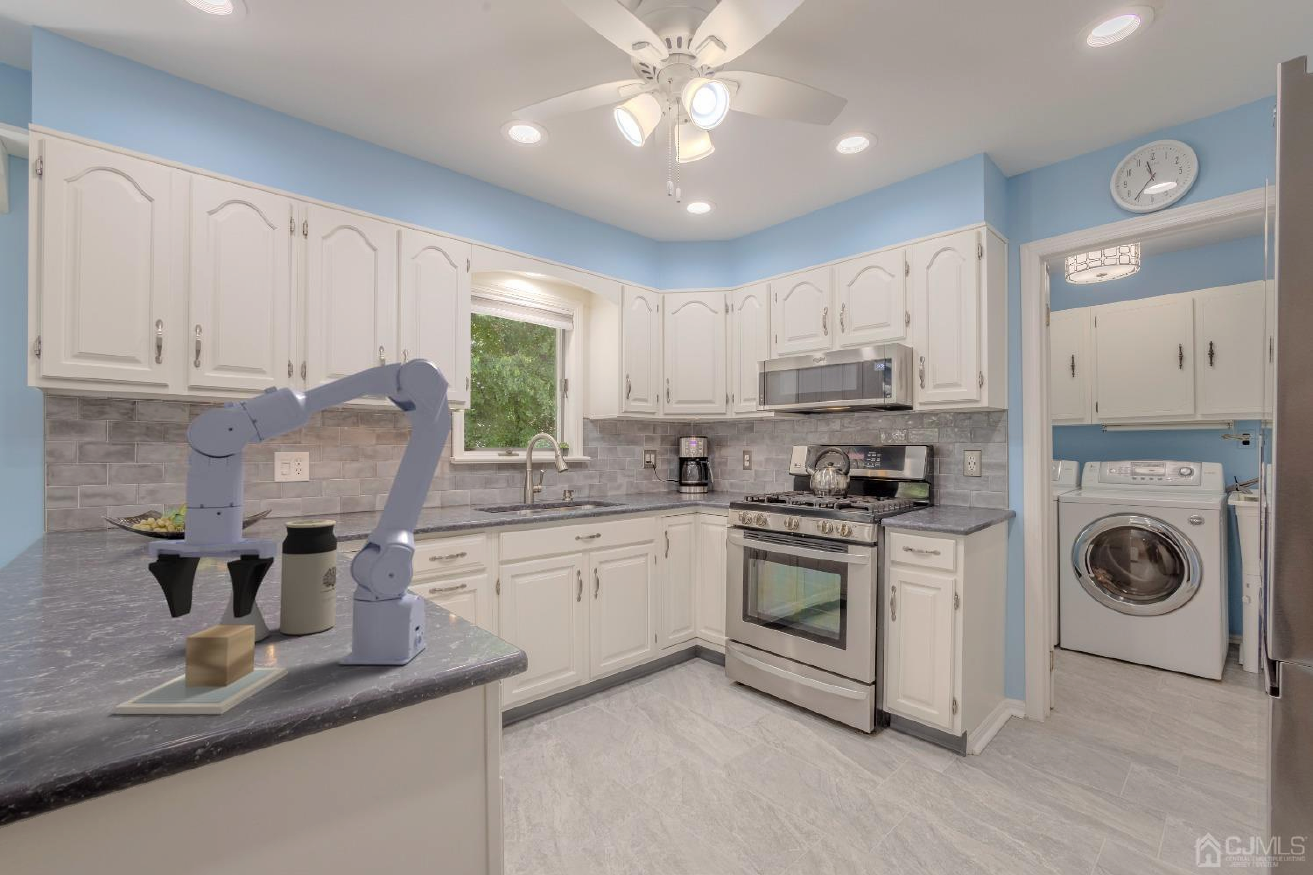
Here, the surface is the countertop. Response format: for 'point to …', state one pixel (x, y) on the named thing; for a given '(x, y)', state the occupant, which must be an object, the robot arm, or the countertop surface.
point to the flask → (246, 619)
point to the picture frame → (200, 695)
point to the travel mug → (308, 577)
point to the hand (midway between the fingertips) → (211, 615)
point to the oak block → (219, 655)
